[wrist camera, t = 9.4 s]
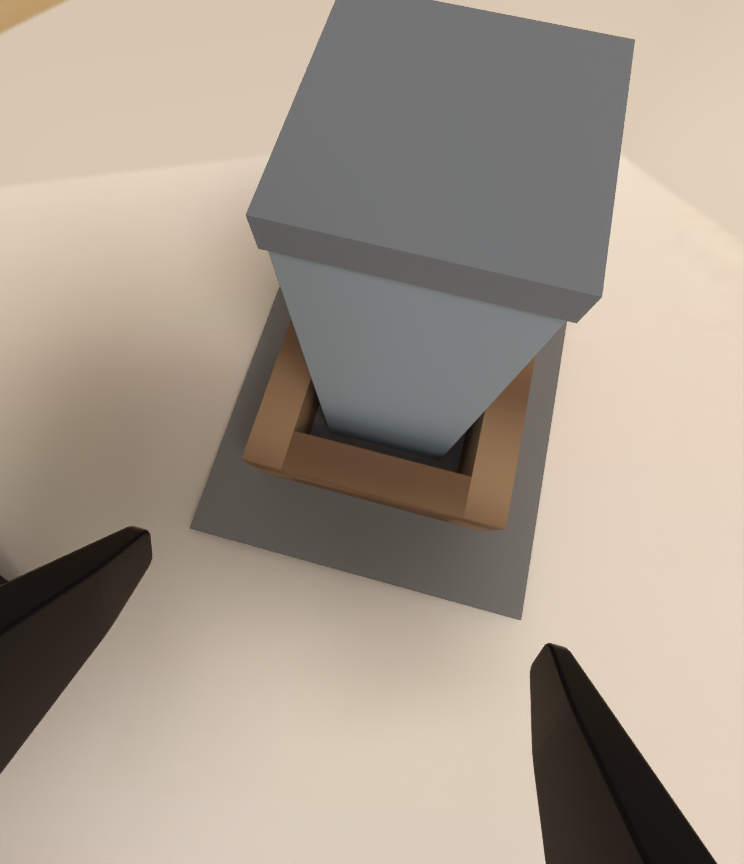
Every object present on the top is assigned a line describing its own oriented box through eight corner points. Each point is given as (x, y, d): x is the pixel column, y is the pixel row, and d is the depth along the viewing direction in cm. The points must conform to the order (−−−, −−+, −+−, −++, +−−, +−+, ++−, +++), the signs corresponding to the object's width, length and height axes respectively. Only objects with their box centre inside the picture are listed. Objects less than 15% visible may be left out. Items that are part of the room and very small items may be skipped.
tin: (441, 463, 18) (601, 296, 6) (327, 433, 18) (245, 215, 6) (464, 357, 19) (635, 39, 7) (357, 332, 19) (342, -18, 7)
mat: (517, 618, 16) (520, 620, 16) (193, 528, 17) (189, 528, 17) (568, 288, 20) (572, 283, 20) (305, 227, 21) (303, 221, 21)
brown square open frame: (481, 531, 17) (505, 529, 14) (262, 472, 17) (241, 459, 15) (520, 325, 19) (547, 287, 17) (327, 279, 20) (320, 235, 17)
